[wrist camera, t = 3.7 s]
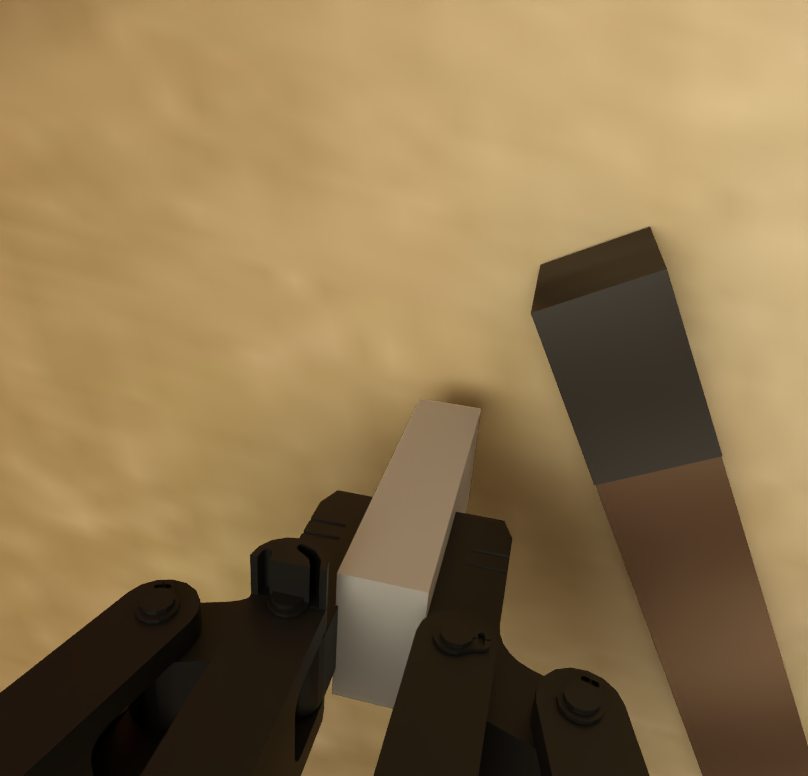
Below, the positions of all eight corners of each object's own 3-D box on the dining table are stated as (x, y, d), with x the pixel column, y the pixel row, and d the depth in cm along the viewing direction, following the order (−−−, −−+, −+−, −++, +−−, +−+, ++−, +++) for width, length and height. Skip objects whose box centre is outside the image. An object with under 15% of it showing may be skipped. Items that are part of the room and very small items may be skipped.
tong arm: (858, 924, 23) (901, 1058, 20) (775, 924, 24) (804, 1053, 21) (650, 226, 16) (666, 268, 13) (540, 264, 17) (530, 312, 14)
